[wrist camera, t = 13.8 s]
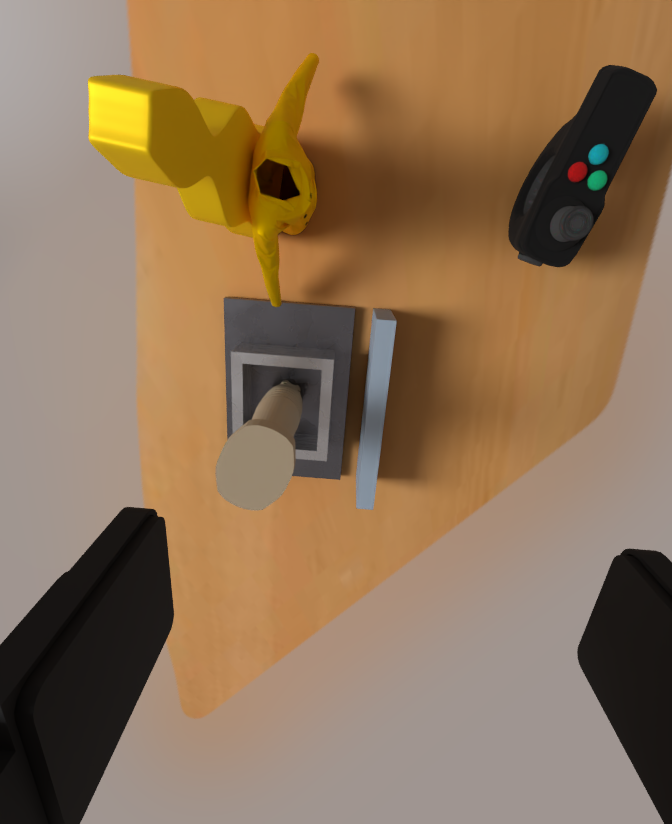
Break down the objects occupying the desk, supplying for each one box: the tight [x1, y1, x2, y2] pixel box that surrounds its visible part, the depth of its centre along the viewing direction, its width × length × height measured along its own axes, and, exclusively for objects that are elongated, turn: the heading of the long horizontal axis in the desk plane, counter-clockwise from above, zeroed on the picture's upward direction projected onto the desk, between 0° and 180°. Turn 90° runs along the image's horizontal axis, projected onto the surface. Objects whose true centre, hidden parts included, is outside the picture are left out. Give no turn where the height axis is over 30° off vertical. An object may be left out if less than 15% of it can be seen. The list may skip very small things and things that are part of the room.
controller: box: [509, 65, 657, 267], centre depth 31 cm, size 4×12×10 cm, turn 160°
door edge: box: [356, 308, 397, 510], centre depth 40 cm, size 18×2×6 cm, turn 176°
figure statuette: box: [88, 53, 319, 307], centre depth 26 cm, size 18×8×22 cm, turn 168°
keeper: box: [224, 297, 355, 480], centre depth 41 cm, size 18×12×4 cm, turn 176°
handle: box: [216, 380, 303, 510], centre depth 35 cm, size 5×6×15 cm
